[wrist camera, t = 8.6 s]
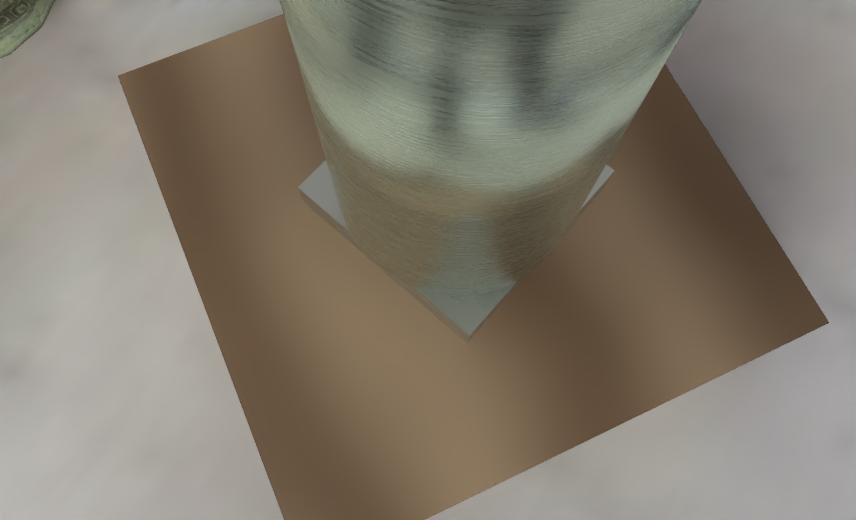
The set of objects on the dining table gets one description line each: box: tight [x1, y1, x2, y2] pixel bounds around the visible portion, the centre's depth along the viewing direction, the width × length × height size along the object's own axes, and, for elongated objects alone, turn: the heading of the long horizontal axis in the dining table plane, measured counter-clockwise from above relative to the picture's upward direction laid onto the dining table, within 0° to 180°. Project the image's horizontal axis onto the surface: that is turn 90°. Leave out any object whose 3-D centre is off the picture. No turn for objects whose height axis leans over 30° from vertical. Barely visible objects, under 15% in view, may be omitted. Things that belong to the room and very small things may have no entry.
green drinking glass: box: [280, 0, 701, 343], centre depth 13 cm, size 6×6×13 cm
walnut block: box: [118, 14, 829, 520], centre depth 21 cm, size 14×14×4 cm
